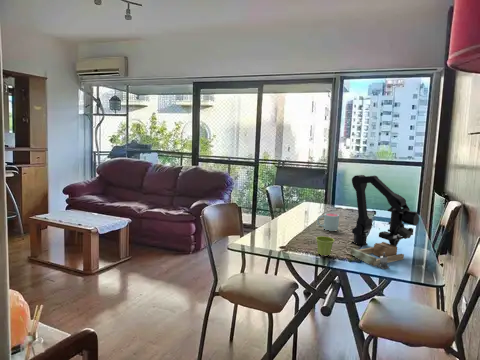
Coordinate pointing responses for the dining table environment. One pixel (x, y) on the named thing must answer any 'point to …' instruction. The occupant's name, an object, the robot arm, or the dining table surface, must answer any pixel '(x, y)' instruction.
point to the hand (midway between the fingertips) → (393, 249)
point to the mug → (330, 221)
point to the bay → (371, 260)
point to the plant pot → (324, 245)
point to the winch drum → (383, 262)
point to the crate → (384, 249)
